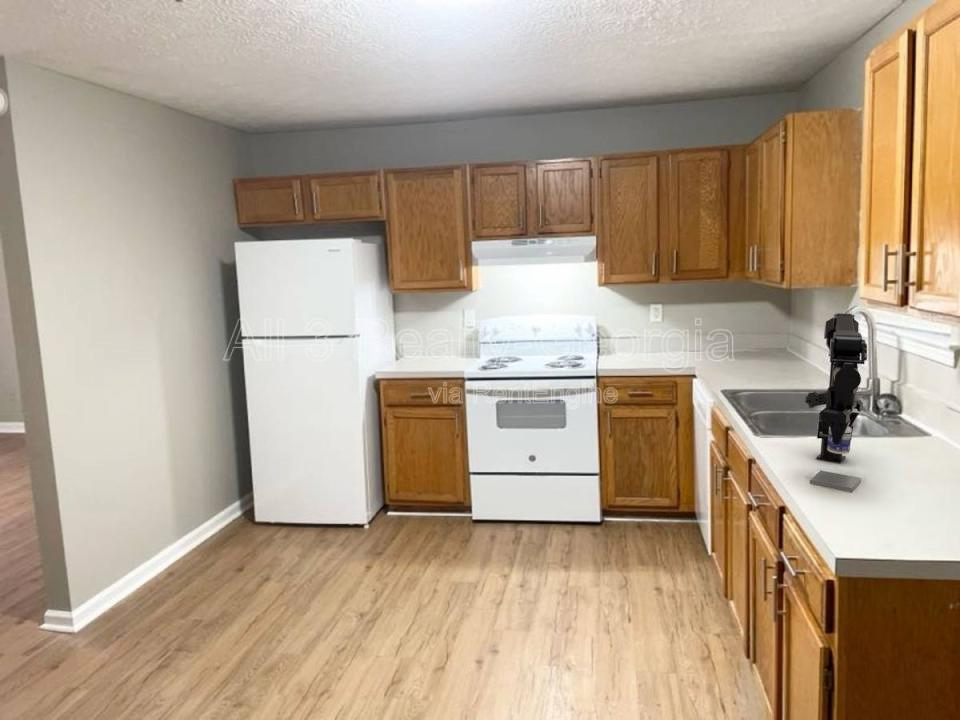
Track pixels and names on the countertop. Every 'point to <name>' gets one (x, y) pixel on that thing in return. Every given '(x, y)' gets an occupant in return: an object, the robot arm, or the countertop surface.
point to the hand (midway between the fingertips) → (838, 441)
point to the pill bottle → (844, 443)
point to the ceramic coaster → (835, 481)
